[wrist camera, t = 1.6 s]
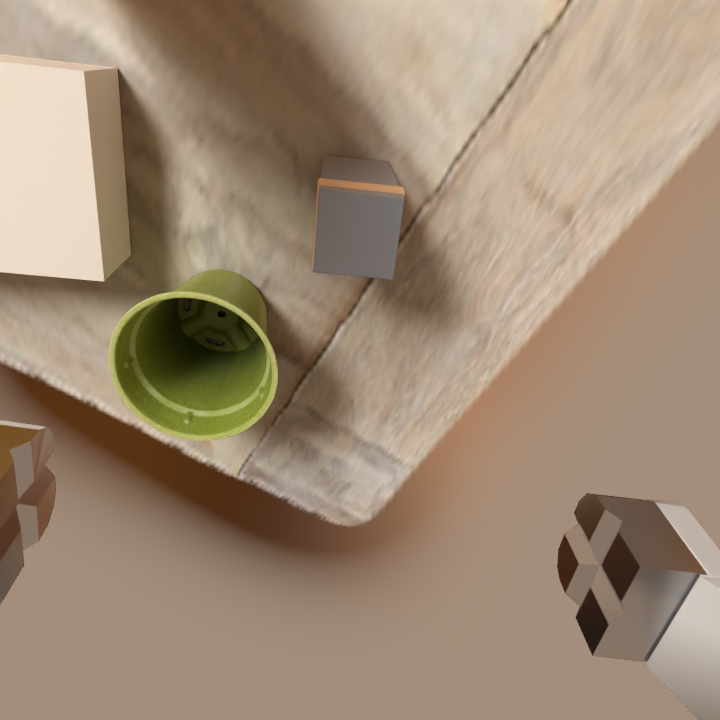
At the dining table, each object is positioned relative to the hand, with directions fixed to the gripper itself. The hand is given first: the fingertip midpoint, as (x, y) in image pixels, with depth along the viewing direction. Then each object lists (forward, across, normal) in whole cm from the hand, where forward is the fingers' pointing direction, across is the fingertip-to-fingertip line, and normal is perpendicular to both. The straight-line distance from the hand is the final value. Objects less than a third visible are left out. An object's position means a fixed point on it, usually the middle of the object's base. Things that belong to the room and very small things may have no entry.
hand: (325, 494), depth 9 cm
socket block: (+31, +20, +3) cm, 37 cm away
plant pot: (+31, +6, +11) cm, 34 cm away
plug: (+31, -2, +1) cm, 31 cm away
